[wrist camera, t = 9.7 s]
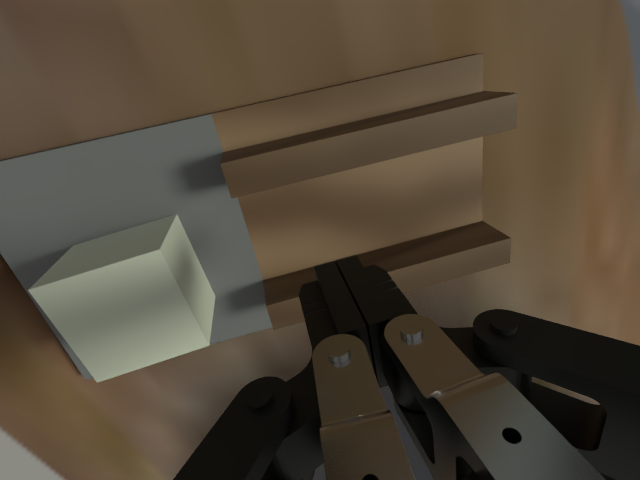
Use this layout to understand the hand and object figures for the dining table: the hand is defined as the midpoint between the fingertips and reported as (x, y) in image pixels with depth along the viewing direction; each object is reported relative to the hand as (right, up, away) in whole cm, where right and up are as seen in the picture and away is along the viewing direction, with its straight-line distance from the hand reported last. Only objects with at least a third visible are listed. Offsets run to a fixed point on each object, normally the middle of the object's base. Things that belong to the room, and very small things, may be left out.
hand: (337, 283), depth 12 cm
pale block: (-9, 0, +6) cm, 11 cm away
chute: (+2, +4, +7) cm, 8 cm away
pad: (-10, +1, +6) cm, 11 cm away
